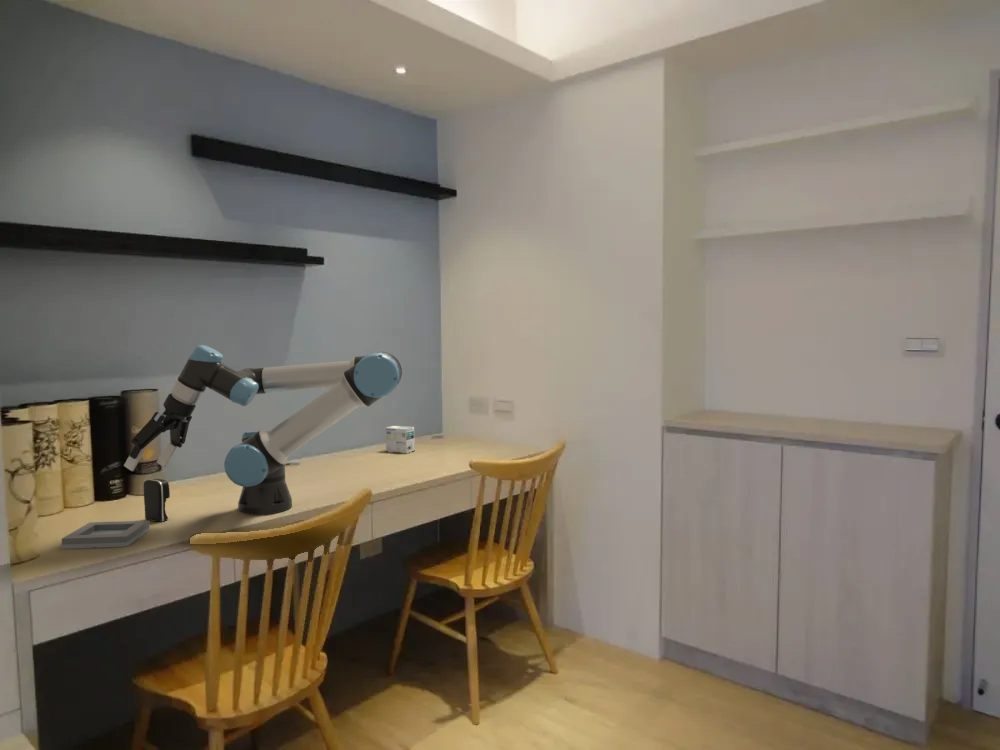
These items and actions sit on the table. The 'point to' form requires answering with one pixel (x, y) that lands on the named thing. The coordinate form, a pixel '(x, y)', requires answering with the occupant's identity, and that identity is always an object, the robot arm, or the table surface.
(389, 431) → the light bulb box
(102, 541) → the dock
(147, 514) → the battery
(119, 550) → the table surface
